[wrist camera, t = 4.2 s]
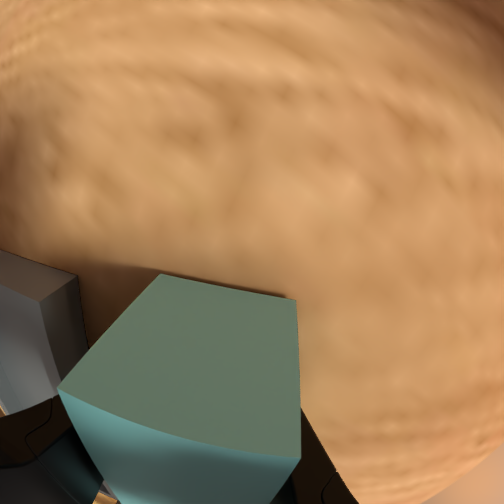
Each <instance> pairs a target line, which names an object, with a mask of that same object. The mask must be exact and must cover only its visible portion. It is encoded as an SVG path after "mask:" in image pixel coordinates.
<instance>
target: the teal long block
mask: <svg viewBox="0 0 504 504" xmlns="http://www.w3.org/2000/svg"><path fill="white" fill-rule="evenodd" d="M57 390H58V393H59V395H60V397H61V400H62V402H63V404H64V406H65V409H66V411H67V413H68V415H69V417H70V419H71V422H72V424H73V426H74V428H75V430H76V432H77V433H78V435H79V437H80V439H81V441H82V443H83V445H84V447H85V448H86V450H87V452H88V454H89V455H90V457H91V459H92V460H93V462H94V464H95V465H96V467H97V469H98V470H99V472H100V473H101V475H102V477H103V478H104V480H105V481H106V483H107V484H108V486H109V487H110V488H111V490H112V491H113V493H114V494H115V496H116V497H117V498H118V500H119V501H120V502H121V504H270V502H271V501H272V500H273V498H274V497H275V495H276V494H277V493H278V491H279V490H280V489H281V487H282V486H283V484H284V483H285V481H286V480H287V479H288V477H289V476H290V474H291V473H292V471H293V470H294V468H295V467H296V465H297V463H298V462H299V460H300V459H301V406H300V371H299V347H298V327H297V309H296V300H292V299H286V298H280V297H275V296H269V295H264V294H258V293H253V292H248V291H242V290H237V289H232V288H227V287H222V286H217V285H212V284H207V283H202V282H197V281H193V280H188V279H183V278H178V277H174V276H169V275H165V274H159V275H158V276H157V277H156V278H155V279H154V280H153V281H152V283H151V284H150V285H149V286H148V287H147V288H146V289H145V290H144V291H143V292H142V293H141V294H140V295H139V296H138V297H137V298H136V299H135V300H134V301H133V302H132V303H131V305H130V306H129V307H128V308H127V309H126V310H125V311H124V312H123V313H122V314H121V315H120V316H119V317H118V318H117V320H116V321H115V322H114V323H113V324H112V325H111V326H110V327H109V328H108V329H107V330H106V332H105V333H104V334H103V335H102V336H101V337H100V338H99V339H98V340H97V342H96V343H95V344H94V345H93V346H92V347H91V348H90V349H89V351H88V352H87V353H86V354H85V355H84V356H83V357H82V359H81V360H80V361H79V362H78V363H77V364H76V366H75V367H74V368H73V369H72V370H71V371H70V373H69V374H68V375H67V376H66V377H65V378H64V380H63V381H62V382H61V383H60V384H59V386H58V387H57Z"/></svg>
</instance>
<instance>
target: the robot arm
mask: <svg viewBox="0 0 504 504" xmlns="http://www.w3.org/2000/svg"><path fill="white" fill-rule="evenodd" d="M103 481H104V478H103V477H102V475H101V473H100V472H99V470H98V469H97V467H96V465H95V464H94V462H93V460H92V459H91V457H90V455H89V454H88V452H87V450H86V448H85V447H84V445H83V443H82V441H81V439H80V437H79V435H78V433H77V432H76V430H75V428H74V426H73V424H72V422H71V419H70V417H69V415H68V413H67V411H66V409H65V406H64V404H63V402H62V400H61V397H60V395H59V394H57V395H55V396H53V398H49V399H47V400H45V401H43V402H41V403H39V404H36V405H34V406H32V407H29V408H27V409H24V410H21V411H19V412H16V413H13V414H10V415H7V416H4V417H0V504H93V501H94V499H95V497H96V495H97V493H98V491H99V489H100V487H101V485H102V483H103ZM270 504H359V503H358V502H357V500H356V499H355V498H354V497H353V495H352V494H351V492H350V491H349V489H348V488H347V486H346V485H345V483H344V482H343V480H342V478H341V477H340V475H339V473H338V472H336V468H335V466H334V465H333V463H332V461H331V460H330V458H329V456H328V454H327V453H326V451H325V449H324V448H323V446H322V444H321V442H320V441H319V439H318V437H317V435H316V434H315V432H314V430H313V428H312V426H311V425H310V423H309V421H308V419H307V418H306V416H305V414H304V412H303V410H302V409H301V459H300V460H299V462H298V463H297V465H296V467H295V468H294V470H293V471H292V473H291V474H290V476H289V477H288V479H287V480H286V481H285V483H284V484H283V486H282V487H281V489H280V490H279V491H278V493H277V494H276V495H275V497H274V498H273V500H272V501H271V502H270Z"/></svg>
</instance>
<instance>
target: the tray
mask: <svg viewBox="0 0 504 504" xmlns="http://www.w3.org/2000/svg"><path fill="white" fill-rule="evenodd" d="M88 351H89V348H88V343H87V338H86V333H85V327H84V322H83V315H82V309H81V301H80V294H79V285H78V276H77V275H74V274H71V273H68V272H64V271H61V270H58V269H55V268H52V267H49V266H46V265H43V264H40V263H37V262H34V261H31V260H28V259H25V258H22V257H19V256H17V255H14V254H11V253H8V252H6V251H3V250H0V405H1V407H2V409H3V410H4V412H5V414H6V415H10V414H13V413H16V412H19V411H21V410H24V409H27V408H29V407H32V406H34V405H36V404H39V403H41V402H43V401H45V400H47V399H49V398H53V396H55V395H57V394H59V393H58V390H57V387H58V386H59V384H60V383H61V382H62V381H63V380H64V378H65V377H66V376H67V375H68V374H69V373H70V371H71V370H72V369H73V368H74V367H75V366H76V364H77V363H78V362H79V361H80V360H81V359H82V357H83V356H84V355H85V354H86V353H87V352H88ZM98 492H100V493H102V494H104V495H107V496H109V497H111V498H113V499H116V500H118V498H117V497H116V496H115V494H114V493H113V491H112V490H111V488H110V487H109V486H108V484H107V483H106V481H105V480H104V481H103V483H102V485H101V487H100V489H99V491H98Z"/></svg>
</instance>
